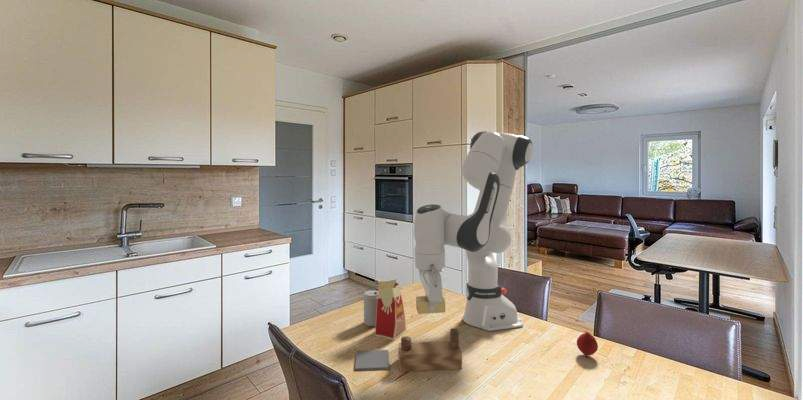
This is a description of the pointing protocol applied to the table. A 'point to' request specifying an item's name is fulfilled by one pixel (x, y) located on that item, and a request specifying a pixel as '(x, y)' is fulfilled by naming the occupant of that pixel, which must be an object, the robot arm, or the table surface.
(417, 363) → the plane body
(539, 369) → the table surface
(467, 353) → the table surface
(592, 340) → the onion
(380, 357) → the mat
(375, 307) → the beverage can
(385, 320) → the milk carton
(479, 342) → the table surface
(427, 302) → the wooden block
